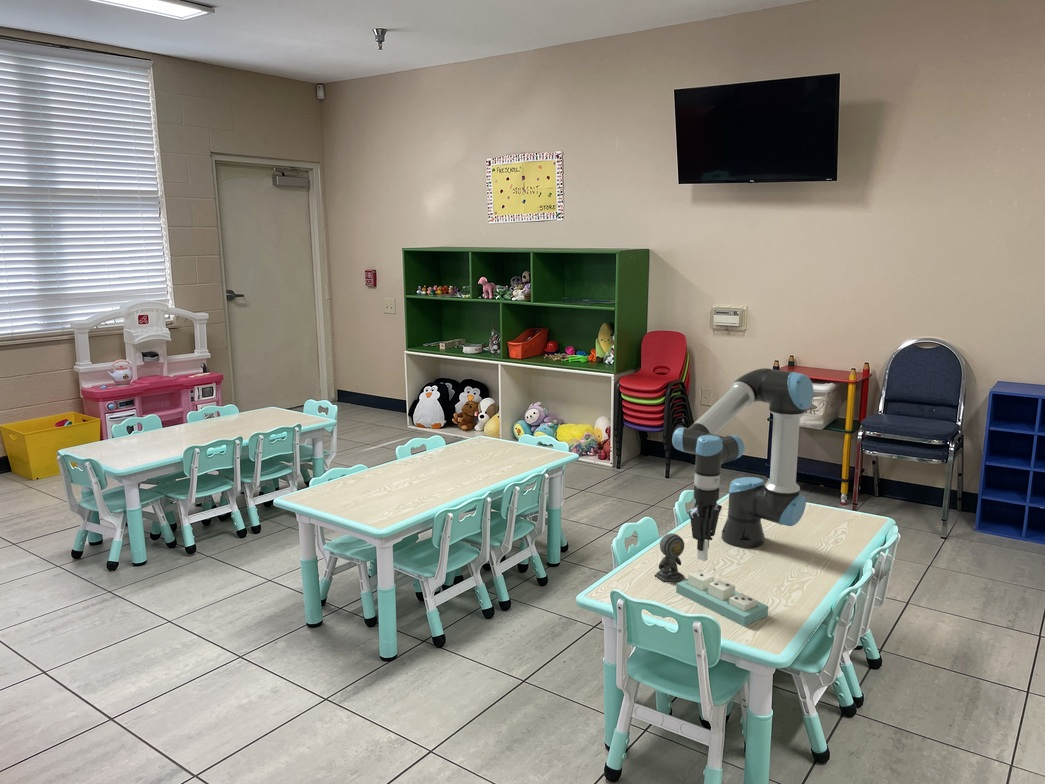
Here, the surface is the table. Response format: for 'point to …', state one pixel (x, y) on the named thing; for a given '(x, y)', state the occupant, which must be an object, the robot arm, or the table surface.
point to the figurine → (670, 558)
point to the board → (722, 605)
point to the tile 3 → (742, 602)
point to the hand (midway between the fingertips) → (702, 559)
